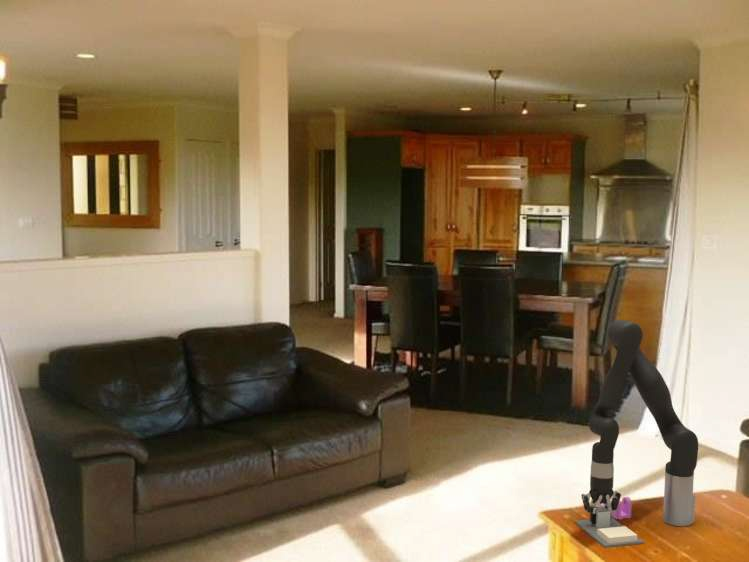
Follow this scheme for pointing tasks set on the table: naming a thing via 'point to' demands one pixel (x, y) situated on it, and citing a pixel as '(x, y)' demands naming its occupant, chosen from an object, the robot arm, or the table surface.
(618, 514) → the bracket
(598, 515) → the stub
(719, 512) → the table surface
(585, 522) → the pad
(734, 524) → the table surface
